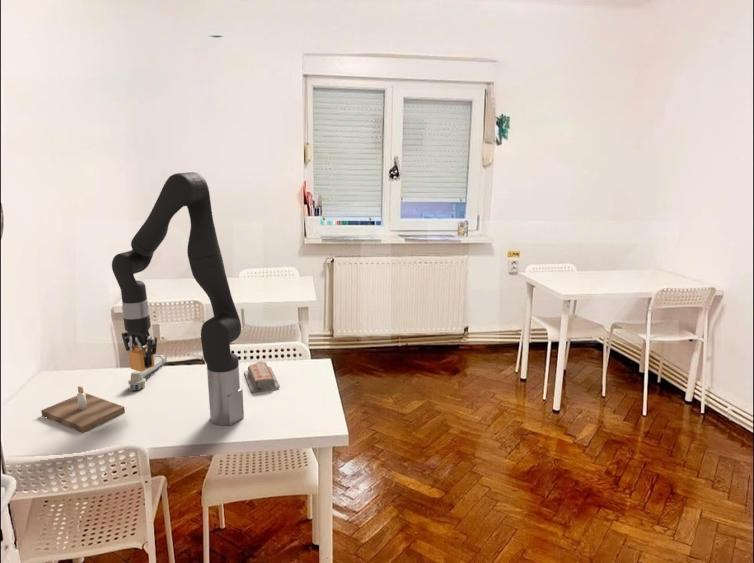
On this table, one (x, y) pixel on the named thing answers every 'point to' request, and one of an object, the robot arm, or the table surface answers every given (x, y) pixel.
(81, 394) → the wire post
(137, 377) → the gray handled tool
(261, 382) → the packaged product
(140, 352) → the orange rounded block
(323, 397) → the table surface
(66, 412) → the board
